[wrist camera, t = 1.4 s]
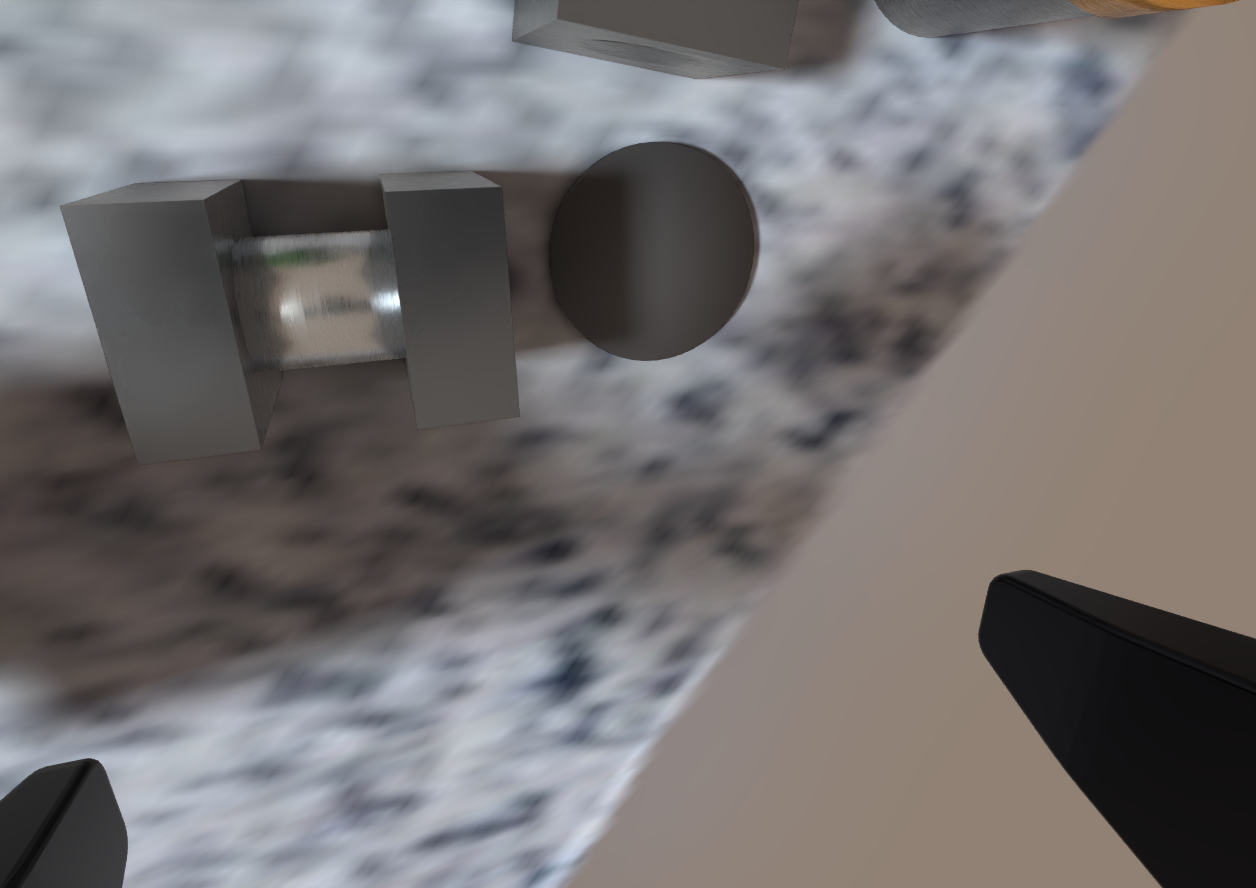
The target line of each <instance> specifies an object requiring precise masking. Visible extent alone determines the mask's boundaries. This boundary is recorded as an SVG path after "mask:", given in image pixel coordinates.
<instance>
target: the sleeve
mask: <svg viewBox="0 0 1256 888" xmlns="http://www.w3.org/2000/svg"><path fill="white" fill-rule="evenodd" d="M1235 1H1239V0H875V2H876V4H877V6H878V7H879V9H880V10H881V11H882V13H883V14H884V15H885V17H886V18H887V19H888V20H889V21H890V22H891V23H892V24H894V25H895V26H896V27H898V28H899V29H900V30H902V31H904V32H906V33H908V34H911V35H915V36H918V37H927V38H929V37H940V36H947V35H955V34H962V33H969V32H977V31H984V30H991V29H999V28H1006V27H1013V26H1021V25H1028V24H1035V23H1043V22H1050V21H1057V20H1064V19H1072V18H1079V17H1086V16H1094V15H1096V16H1099V17H1106V18H1119V17H1129V16H1136V15H1144V14H1152V13H1160V12H1167V11H1175V10H1183V9H1191V8H1198V7H1206V6H1214V5H1222V4H1227V3H1230V2H1235Z"/></svg>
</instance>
